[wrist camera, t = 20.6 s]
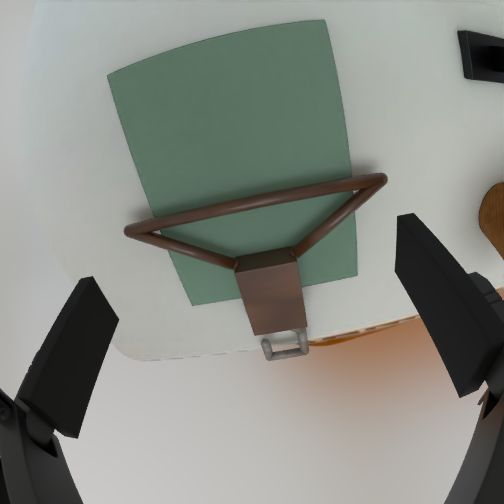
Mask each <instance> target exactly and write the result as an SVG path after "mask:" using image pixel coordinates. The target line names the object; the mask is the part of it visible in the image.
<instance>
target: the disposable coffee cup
mask: <svg viewBox="0 0 504 504" xmlns="http://www.w3.org/2000/svg"><path fill="white" fill-rule="evenodd" d="M479 225H480V228H481V230H482V232H483V233H484V234H485V235H486V237H487V238H488V239H489V240H490V242H491V243H492V244H493V246H494V247H495V248H496V250H497V251H498V253H499V254H500V255H501V257H502V258H503V260H504V182H503V183H499V184H497V185H495V186H494V187H493V188H492V189H491V190H490V191H489V192H488V193H487V195H486V196H485V198H484V200H483V202H482V205H481V208H480V212H479Z"/></svg>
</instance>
